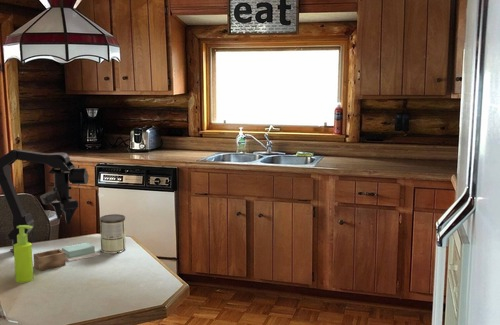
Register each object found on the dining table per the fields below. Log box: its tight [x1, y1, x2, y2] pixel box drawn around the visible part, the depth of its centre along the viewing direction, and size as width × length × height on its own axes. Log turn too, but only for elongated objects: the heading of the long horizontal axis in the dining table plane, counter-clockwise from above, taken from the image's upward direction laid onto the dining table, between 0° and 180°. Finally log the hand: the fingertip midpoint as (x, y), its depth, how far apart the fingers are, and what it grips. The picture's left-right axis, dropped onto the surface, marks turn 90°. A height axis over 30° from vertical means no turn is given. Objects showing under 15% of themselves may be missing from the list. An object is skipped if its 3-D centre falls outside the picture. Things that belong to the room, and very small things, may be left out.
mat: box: [65, 250, 101, 263], centre depth 227 cm, size 12×13×1 cm
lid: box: [61, 242, 96, 258], centre depth 226 cm, size 11×7×3 cm, turn 130°
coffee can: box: [99, 213, 127, 254], centre depth 232 cm, size 10×10×14 cm
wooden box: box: [32, 248, 67, 272], centre depth 213 cm, size 10×6×5 cm, turn 130°
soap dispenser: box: [13, 225, 34, 284], centre depth 197 cm, size 6×7×20 cm
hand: (63, 221), depth 228 cm, fingers open, 9 cm apart
